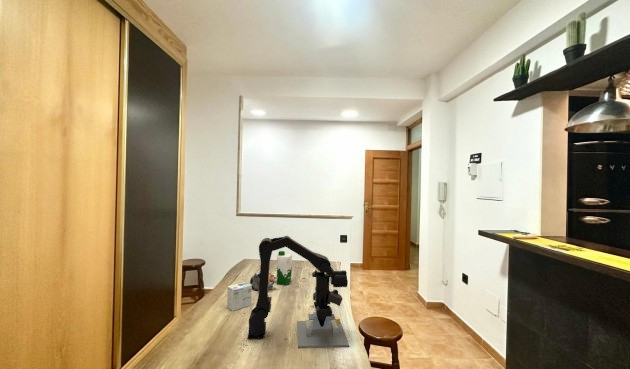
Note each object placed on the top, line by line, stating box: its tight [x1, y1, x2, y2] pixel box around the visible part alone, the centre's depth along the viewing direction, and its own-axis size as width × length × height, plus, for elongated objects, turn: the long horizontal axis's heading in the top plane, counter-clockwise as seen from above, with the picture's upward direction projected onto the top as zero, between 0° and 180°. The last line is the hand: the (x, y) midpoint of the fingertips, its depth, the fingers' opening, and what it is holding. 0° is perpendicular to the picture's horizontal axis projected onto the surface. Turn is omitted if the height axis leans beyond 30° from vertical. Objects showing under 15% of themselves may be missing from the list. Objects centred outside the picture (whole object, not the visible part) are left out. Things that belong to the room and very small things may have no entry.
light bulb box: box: [226, 281, 253, 312], centre depth 143 cm, size 11×7×11 cm, turn 135°
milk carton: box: [276, 250, 293, 286], centre depth 179 cm, size 9×9×20 cm
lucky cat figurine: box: [249, 271, 277, 292], centre depth 168 cm, size 15×12×14 cm
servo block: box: [307, 311, 336, 329], centre depth 119 cm, size 11×4×6 cm, turn 95°
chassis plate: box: [296, 316, 350, 349], centre depth 118 cm, size 20×20×4 cm
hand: (321, 323), depth 118 cm, fingers closed on servo block, 4 cm apart
